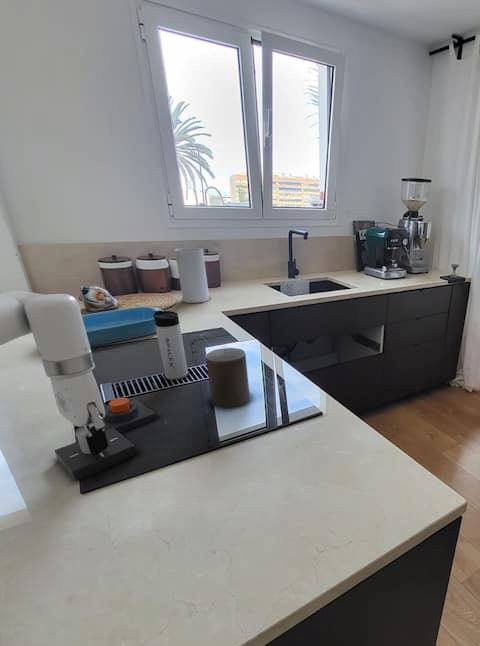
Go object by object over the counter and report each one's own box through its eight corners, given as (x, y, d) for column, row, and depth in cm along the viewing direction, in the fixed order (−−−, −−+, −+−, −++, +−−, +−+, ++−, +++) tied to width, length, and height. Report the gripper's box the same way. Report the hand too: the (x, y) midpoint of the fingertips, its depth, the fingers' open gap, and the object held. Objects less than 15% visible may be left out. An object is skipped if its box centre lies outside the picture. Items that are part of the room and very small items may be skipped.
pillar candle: (231, 414, 98) (224, 359, 92) (204, 404, 103) (195, 351, 97) (258, 398, 106) (253, 347, 100) (232, 390, 111) (226, 340, 104)
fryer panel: (76, 484, 74) (71, 470, 73) (58, 462, 80) (54, 449, 78) (136, 457, 82) (133, 444, 81) (116, 439, 87) (113, 427, 86)
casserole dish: (62, 355, 130) (55, 335, 127) (50, 338, 145) (44, 319, 142) (175, 332, 153) (172, 315, 151) (155, 319, 168) (152, 303, 165)
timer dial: (110, 446, 80) (105, 426, 78) (86, 456, 77) (80, 436, 75) (101, 438, 82) (96, 419, 80) (78, 448, 79) (71, 428, 77)
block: (107, 440, 87) (103, 425, 85) (90, 424, 93) (85, 409, 91) (157, 420, 95) (154, 406, 93) (138, 407, 101) (135, 393, 99)
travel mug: (177, 371, 121) (166, 308, 113) (193, 375, 119) (182, 311, 111) (160, 378, 116) (147, 313, 108) (175, 383, 113) (163, 316, 105)
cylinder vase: (213, 300, 200) (207, 250, 190) (189, 304, 191) (181, 252, 181) (202, 296, 208) (195, 247, 197) (178, 300, 199) (170, 249, 189)
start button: (115, 415, 90) (113, 407, 89) (107, 409, 92) (105, 402, 91) (133, 409, 93) (131, 401, 92) (126, 403, 95) (124, 396, 94)
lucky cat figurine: (126, 305, 186) (119, 283, 176) (110, 321, 178) (102, 299, 168) (95, 295, 186) (87, 271, 175) (78, 311, 178) (68, 287, 167)
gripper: (27, 357, 73) (55, 439, 81) (64, 382, 65) (92, 471, 72) (72, 346, 79) (95, 423, 86) (112, 368, 70) (133, 452, 78)
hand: (93, 444), depth 79 cm, fingers closed on timer dial, 4 cm apart
